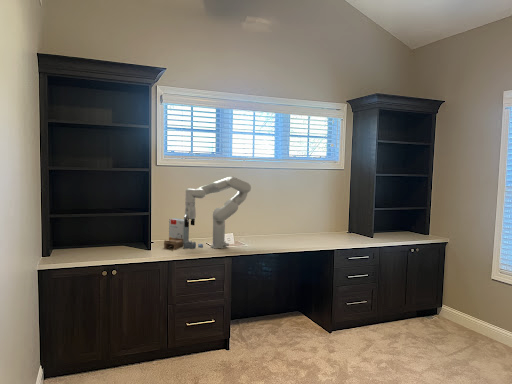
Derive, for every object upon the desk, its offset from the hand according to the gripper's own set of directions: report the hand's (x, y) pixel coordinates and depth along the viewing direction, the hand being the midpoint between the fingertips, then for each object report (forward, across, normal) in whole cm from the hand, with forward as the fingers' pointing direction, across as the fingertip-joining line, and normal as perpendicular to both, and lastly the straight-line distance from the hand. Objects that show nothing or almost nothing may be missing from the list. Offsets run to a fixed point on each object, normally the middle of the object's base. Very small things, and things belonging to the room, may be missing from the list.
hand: (189, 226), depth 300 cm
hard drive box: (+18, +13, +17) cm, 28 cm away
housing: (+18, 0, 0) cm, 18 cm away
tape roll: (+18, +7, -6) cm, 20 cm away
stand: (+18, -3, +12) cm, 21 cm away
